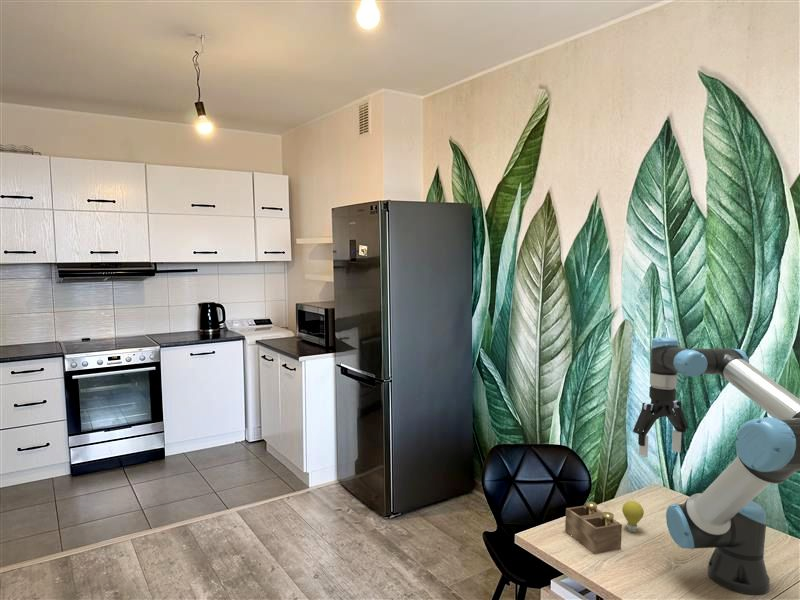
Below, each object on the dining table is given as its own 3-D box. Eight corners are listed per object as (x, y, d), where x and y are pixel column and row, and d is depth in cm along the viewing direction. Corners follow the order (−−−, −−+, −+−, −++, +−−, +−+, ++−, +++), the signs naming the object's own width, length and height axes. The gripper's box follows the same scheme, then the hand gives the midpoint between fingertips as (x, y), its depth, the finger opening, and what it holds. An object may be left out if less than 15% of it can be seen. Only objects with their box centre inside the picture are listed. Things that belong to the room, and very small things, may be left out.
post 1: (597, 534, 184) (599, 505, 183) (589, 536, 183) (590, 506, 182) (591, 530, 187) (592, 501, 186) (582, 531, 186) (584, 502, 185)
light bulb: (639, 537, 183) (641, 507, 182) (618, 531, 187) (620, 502, 186) (645, 529, 188) (646, 501, 187) (624, 523, 192) (625, 495, 191)
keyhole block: (620, 549, 175) (622, 524, 174) (594, 554, 172) (595, 528, 171) (589, 527, 189) (590, 504, 188) (565, 531, 186) (565, 508, 185)
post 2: (614, 546, 176) (616, 515, 176) (605, 548, 175) (607, 517, 175) (607, 541, 180) (608, 511, 179) (598, 543, 178) (600, 512, 178)
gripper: (682, 382, 182) (679, 445, 183) (622, 386, 173) (619, 453, 174) (702, 386, 175) (699, 453, 176) (641, 391, 166) (638, 461, 167)
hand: (659, 453), depth 175 cm, fingers open, 13 cm apart
